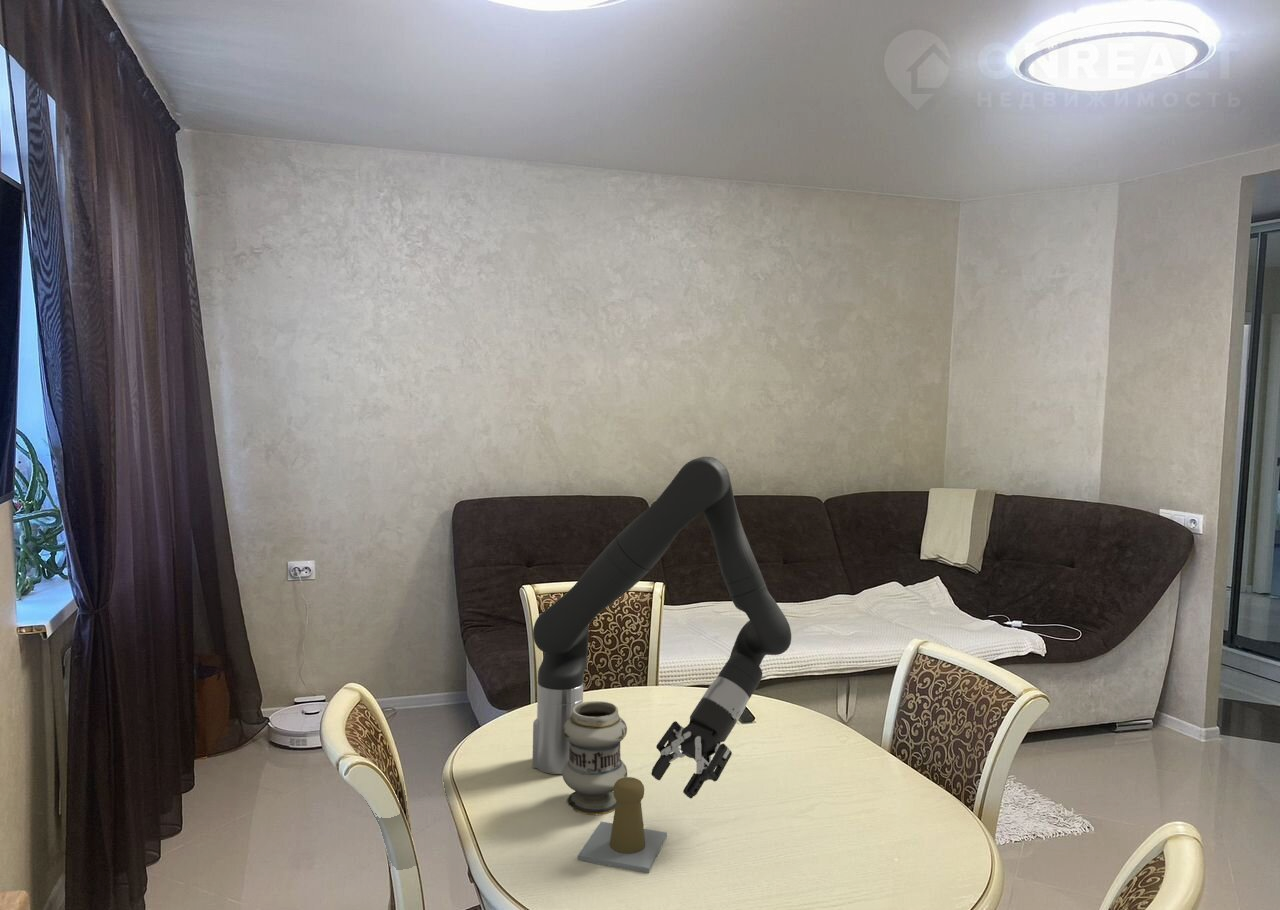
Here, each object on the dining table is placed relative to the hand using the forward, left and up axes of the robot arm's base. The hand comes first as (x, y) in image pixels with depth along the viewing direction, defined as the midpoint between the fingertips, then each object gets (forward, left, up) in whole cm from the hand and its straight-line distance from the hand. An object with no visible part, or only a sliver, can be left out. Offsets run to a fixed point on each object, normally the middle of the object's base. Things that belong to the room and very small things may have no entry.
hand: (670, 786), depth 152 cm
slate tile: (-6, -8, -8) cm, 13 cm away
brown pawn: (-5, -8, -7) cm, 12 cm away
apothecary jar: (-16, +6, -8) cm, 19 cm away
